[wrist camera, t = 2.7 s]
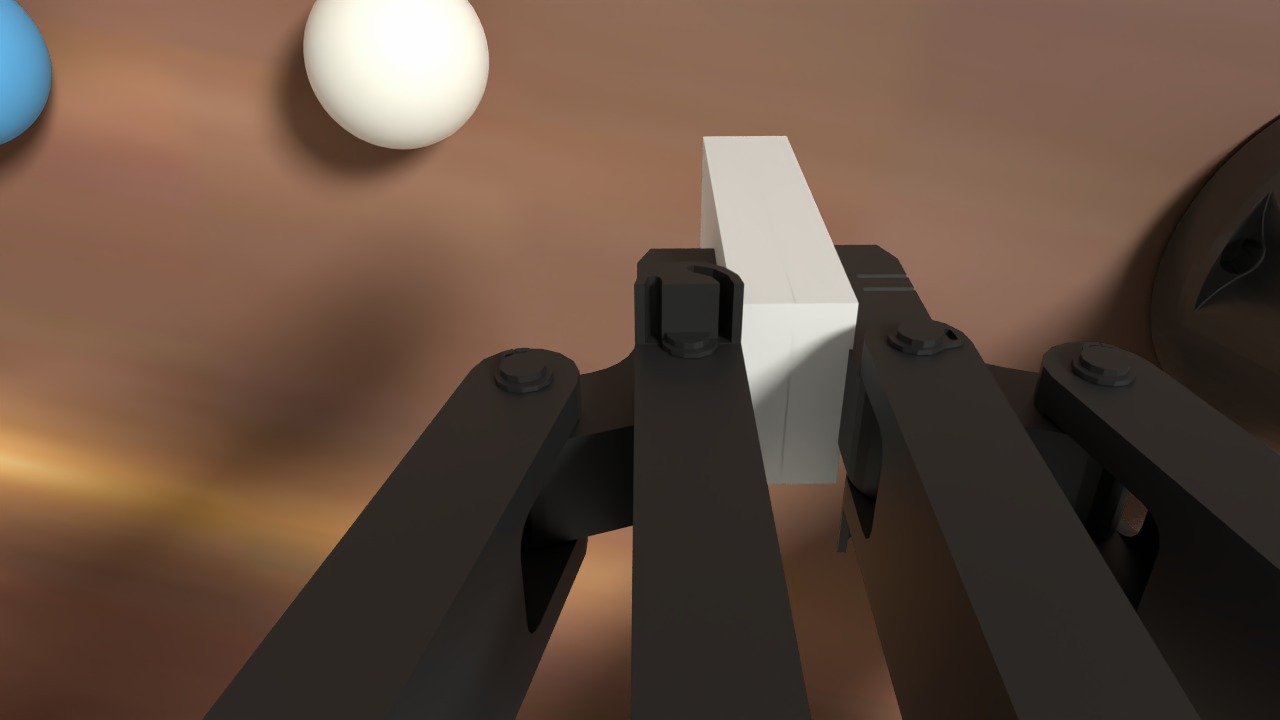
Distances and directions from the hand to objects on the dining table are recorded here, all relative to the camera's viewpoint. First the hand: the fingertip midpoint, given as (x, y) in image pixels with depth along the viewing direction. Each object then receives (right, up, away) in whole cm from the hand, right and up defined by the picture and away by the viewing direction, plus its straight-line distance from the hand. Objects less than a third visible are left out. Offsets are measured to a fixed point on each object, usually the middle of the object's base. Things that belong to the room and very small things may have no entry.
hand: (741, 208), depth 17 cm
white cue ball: (-9, +6, +11) cm, 16 cm away
